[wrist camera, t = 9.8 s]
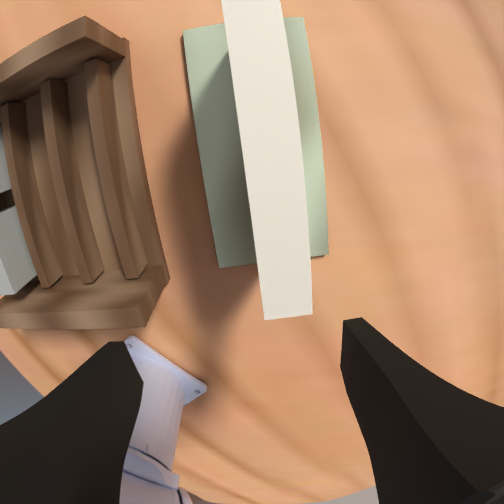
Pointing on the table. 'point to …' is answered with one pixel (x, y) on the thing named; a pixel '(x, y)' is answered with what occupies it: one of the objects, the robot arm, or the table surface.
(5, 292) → the offcut
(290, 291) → the cream rectangular slab
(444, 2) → the table surface
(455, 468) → the robot arm
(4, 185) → the offcut
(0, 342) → the table surface
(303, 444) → the table surface
